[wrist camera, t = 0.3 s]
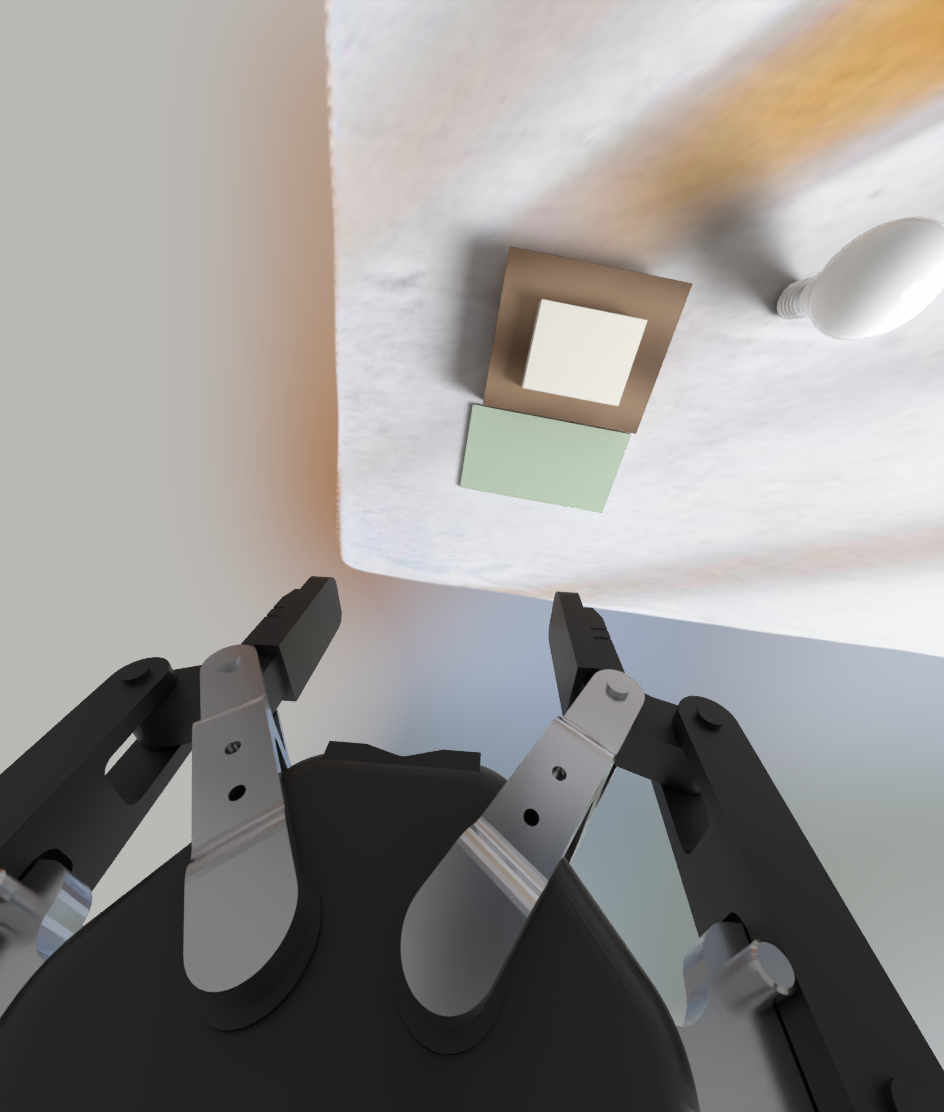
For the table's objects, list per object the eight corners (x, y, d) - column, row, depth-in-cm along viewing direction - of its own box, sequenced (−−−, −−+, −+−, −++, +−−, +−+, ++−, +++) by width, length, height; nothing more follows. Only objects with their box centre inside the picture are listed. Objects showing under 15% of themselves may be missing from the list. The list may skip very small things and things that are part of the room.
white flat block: (539, 303, 28) (541, 299, 26) (638, 322, 28) (647, 320, 26) (521, 386, 31) (522, 388, 29) (611, 403, 31) (618, 406, 29)
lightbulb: (785, 358, 32) (911, 357, 22) (731, 322, 31) (837, 304, 21) (850, 279, 29) (1025, 238, 20) (792, 236, 28) (947, 170, 19)
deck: (507, 259, 30) (509, 246, 26) (669, 292, 30) (692, 283, 27) (483, 400, 35) (482, 404, 32) (621, 426, 36) (635, 433, 32)
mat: (473, 404, 35) (472, 404, 35) (629, 433, 36) (631, 434, 36) (460, 486, 39) (459, 487, 39) (600, 511, 40) (601, 512, 40)
